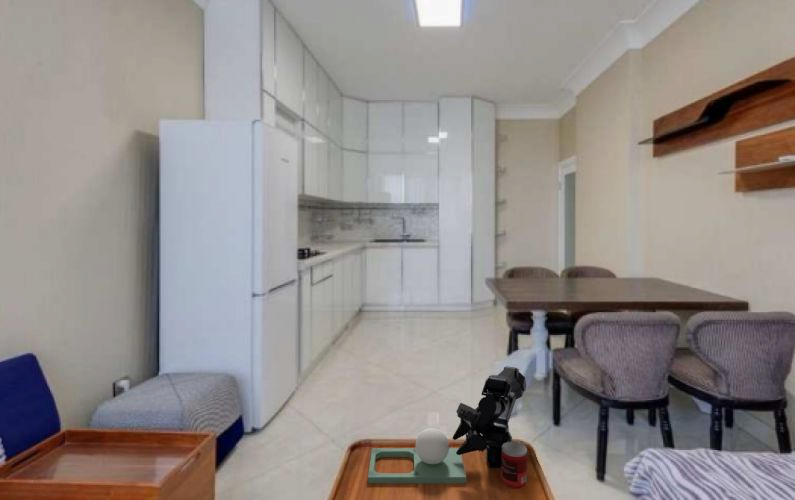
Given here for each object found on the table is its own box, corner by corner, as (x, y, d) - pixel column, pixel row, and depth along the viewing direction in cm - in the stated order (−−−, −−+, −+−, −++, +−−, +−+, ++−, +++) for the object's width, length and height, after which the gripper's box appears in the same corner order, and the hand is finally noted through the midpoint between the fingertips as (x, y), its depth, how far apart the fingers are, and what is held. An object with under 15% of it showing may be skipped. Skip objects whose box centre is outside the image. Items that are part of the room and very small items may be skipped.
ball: (447, 452, 155) (447, 421, 154) (450, 471, 144) (450, 438, 143) (415, 452, 156) (415, 422, 155) (416, 471, 145) (415, 438, 144)
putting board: (459, 453, 158) (459, 448, 158) (466, 483, 142) (466, 477, 141) (371, 453, 159) (371, 448, 159) (367, 483, 142) (367, 477, 142)
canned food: (524, 474, 146) (524, 441, 145) (528, 489, 138) (529, 455, 137) (499, 473, 147) (500, 440, 146) (503, 488, 139) (503, 454, 138)
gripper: (466, 385, 157) (435, 416, 158) (476, 410, 138) (440, 445, 139) (489, 406, 157) (457, 437, 159) (502, 434, 139) (466, 469, 140)
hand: (455, 446), depth 149 cm, fingers open, 9 cm apart
